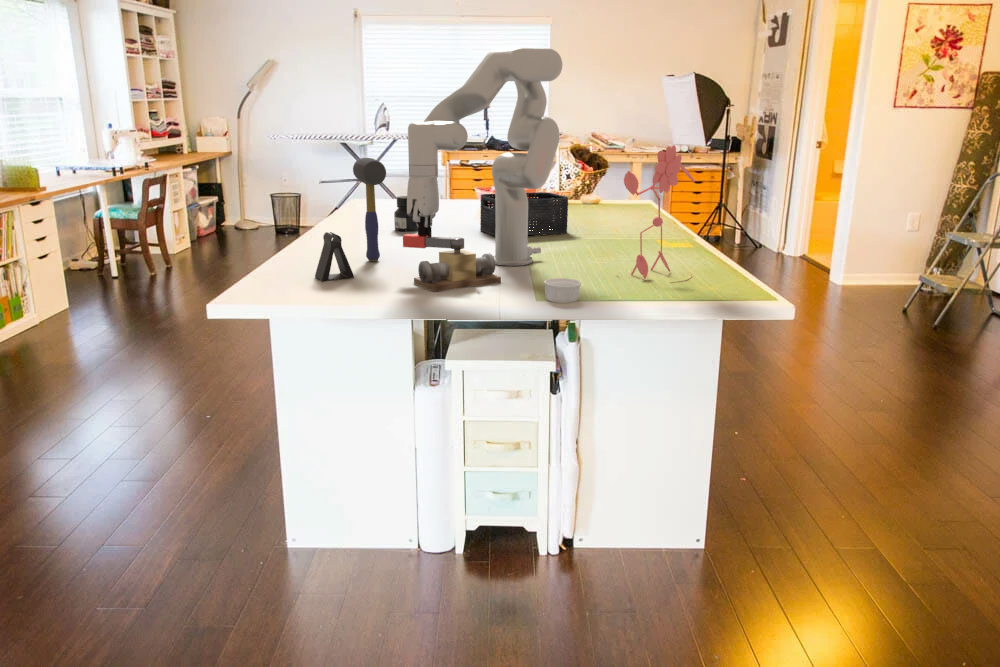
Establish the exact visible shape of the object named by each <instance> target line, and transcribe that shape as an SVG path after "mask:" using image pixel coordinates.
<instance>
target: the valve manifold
mask: <svg viewBox="0 0 1000 667" xmlns="http://www.w3.org/2000/svg"><path fill="white" fill-rule="evenodd" d="M438 256H439V257H438V262H433V263H432V262H431V263H430V262H429V261H428V260H424V261H423V260H422V261H420V262H419V264H418V270H417V272H418V276H417V277H413V283H414V285H417V286H419V287H421V288H423V289H426V290H429V291H431V292H433V293H436V292H437V293H438V292H445V291H449V290H458V289H464V288H471V287H478V286H487V285H493V284H500V283H501V282H502V276H500V275H497V274H495V270H496V264H495V260H494V257H493V256H494V255H493V254H491V253H489V252H488V253H483V254H482V255H481V257H477V254H476V253H475V252H471V251H469V250H466V249H452V250H446V251H445V250H443V251H439V252H438Z"/></svg>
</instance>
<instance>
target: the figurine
mask: <svg viewBox="0 0 1000 667" xmlns="http://www.w3.org/2000/svg"><path fill="white" fill-rule="evenodd" d="M656 157H657V158H656V159H657V161H658V162H657V164H656V165H655V167H654V174H653V177H652V185H651V186H650V187H648V188H645V189H644V190H642V191H639V192H638V190H639V184H640V182H639V180H638V178H637V177H636V175H635V174H634V173H633V172H631V171H630V170H627V171H626V173H625V174H624V178H623V184H624V187H625V189H626V190H628V191H629V193H630V194H631V195H632V196H634V195H636V196H637V197H638V196H639V195H642V194H643V193H646V192H648V191H650V190H651V191H652V192H653V193H654V195H655V198H656V199H657V200H658V201H657V205H658V206H657V207H658V208H657V209H658V216H655V217H654V218H653V219H652V225H650V226H648V227H647V228H645V229H644V230H642V231H640V234H639V235H640V236H639V237H640V241H639V242H640V243H639V244H640V245H639V246H640V249H639V250H640V252H639V253H640V254H637V256H636V259H635V260H636V261H635V263H636V264H635V266H634V268H633V269H632V270H631V271H632V272H631V273H630V275H631V276H633V275H634V273H635V272H636V271H637V269H638V272H639V273H640V275H641V276H642V277H643V279H646V278H647V277H648V274H649V265H648V262H647V260H646V258H645V256H643V252H642V251H643V244H642V243H643V242H642V241H643V239H642V237H643V233H644V232H646V231H647V230H649V229H652V228H653V227H659V228H660V250H658V251H657V252H658V256H657V257H656V259H655V261H654V262H653V264H652V267H651V268H650V271H651V272H652V271H653V270H654V268H655V267H656V265H657V263H658V261H659V259H661V261H662V263H663V265H664V267H665V268H666V269H667V271H668V272H671V269H670V267H669V265H668V263H667V260H666V259H665V255H663V254H664V253H663V224H664V220H663V218H662V217H661V198H660V196H659V195H658V193H657V191H656V190H659V193H660V194H663V192H665V193H666V194H668V193H669V191H670V189H671V186H672V187H675V186H677V185H678V183H679V178H678V176H677V175H678V174H679V173H680V170H681V171H683V173H684V174H685V176H687V177H688V178H689V179H690V180H691V181H692V182H693V183H695V182H696V180H695V179H694V177H693V176H692V175H691V173H690V172H689V170H688V169H687V168H686V167H685V166H684V165H683V164H682V163H681V161H682V155H681V154H677V147H676V145H672V146H669V145H667V147H666V148H665V151H663V150H659V151H658V152H657V156H656ZM657 183H658V186H656V184H657ZM689 274H690V275H691V277H690V278H688V279H685V280H680V281H678V283H682V282H688V281H690V279H692V275H693V274H692V273H691V272H689ZM615 277H616V278H619V279H620V276H618V275H615ZM669 283H670V284H673V283H676V281H670V282H669Z"/></svg>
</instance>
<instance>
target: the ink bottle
mask: <svg viewBox="0 0 1000 667" xmlns="http://www.w3.org/2000/svg"><path fill="white" fill-rule="evenodd" d="M396 208H397V209H396V210H395V211H394V213H393V215H394V217H393V218H394V230H396V231H398V232H414V231H415V232H416V231H418V227H417V222H414V221H413V216H409V215H408V214H407V195H398V196H396Z"/></svg>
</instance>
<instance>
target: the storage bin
mask: <svg viewBox="0 0 1000 667" xmlns="http://www.w3.org/2000/svg"><path fill="white" fill-rule="evenodd" d="M526 194H527V198H528V235H541V236H544V235H543V234H557V235H562V234H561V233H565V234H567V233H568V218H569V217H568V215H569V214H568V213H569V212H568V211H569V196H565V195H562V194H561V195H560V194H556V193H552V192H545V191H544V192H543V191H542V192H541V191H540V192H526ZM479 219H480V232H483V233H485V234H488V235H490V236H494V237H495V193H484V194H482V193H481V194H480V218H479ZM549 226H550V227H549ZM529 227H530V228H529ZM533 227H534V228H533ZM542 229H543V230H542ZM549 229H551V230H549ZM552 229H553V230H552ZM529 230H531V231H529ZM532 230H533V231H532ZM539 232H540V233H539Z"/></svg>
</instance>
